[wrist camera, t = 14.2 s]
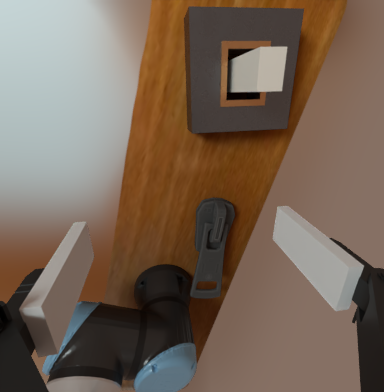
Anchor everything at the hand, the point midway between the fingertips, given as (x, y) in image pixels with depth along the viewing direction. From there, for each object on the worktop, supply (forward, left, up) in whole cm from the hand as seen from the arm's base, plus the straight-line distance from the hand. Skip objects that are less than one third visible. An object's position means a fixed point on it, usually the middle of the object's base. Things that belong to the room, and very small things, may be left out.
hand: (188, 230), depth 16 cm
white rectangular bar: (+11, -13, -34) cm, 38 cm away
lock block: (+11, -13, -34) cm, 38 cm away
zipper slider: (-26, -9, -34) cm, 44 cm away
